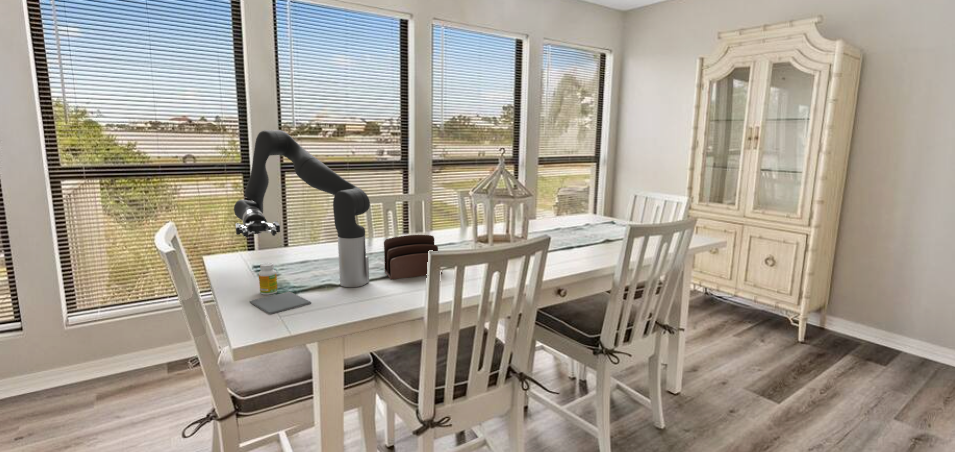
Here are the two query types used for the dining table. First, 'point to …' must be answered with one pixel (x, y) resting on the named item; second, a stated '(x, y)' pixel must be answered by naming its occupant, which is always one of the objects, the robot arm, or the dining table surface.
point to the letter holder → (407, 255)
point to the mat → (280, 302)
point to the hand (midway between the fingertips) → (260, 233)
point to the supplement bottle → (267, 279)
